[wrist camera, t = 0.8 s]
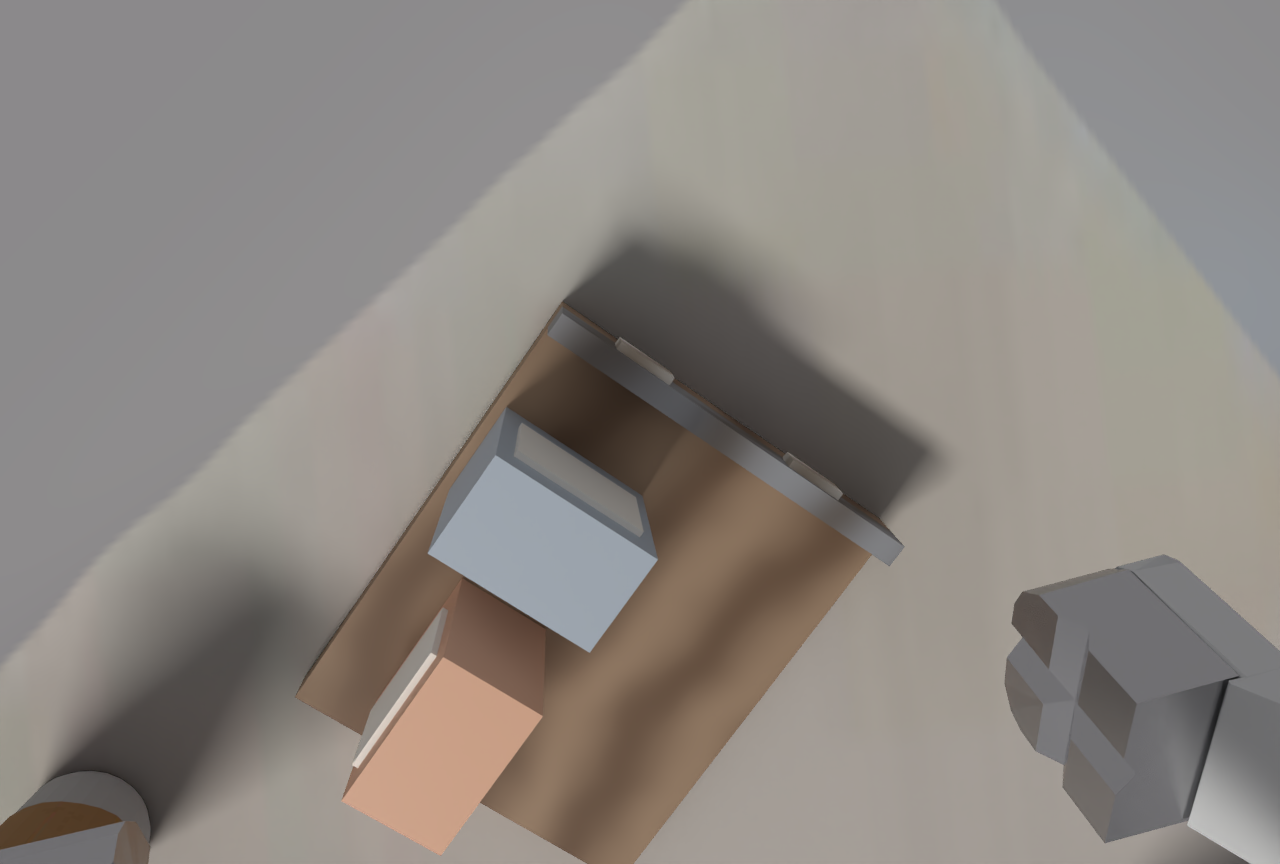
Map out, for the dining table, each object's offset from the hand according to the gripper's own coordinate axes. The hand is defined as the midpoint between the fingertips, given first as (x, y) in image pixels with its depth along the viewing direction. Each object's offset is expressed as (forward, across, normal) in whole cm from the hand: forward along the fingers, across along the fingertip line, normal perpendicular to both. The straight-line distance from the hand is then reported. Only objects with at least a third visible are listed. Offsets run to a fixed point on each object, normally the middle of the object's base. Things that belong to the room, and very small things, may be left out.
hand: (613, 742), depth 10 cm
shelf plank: (+37, +5, -30) cm, 48 cm away
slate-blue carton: (+37, +4, -23) cm, 44 cm away
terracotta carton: (+35, -2, -31) cm, 47 cm away
